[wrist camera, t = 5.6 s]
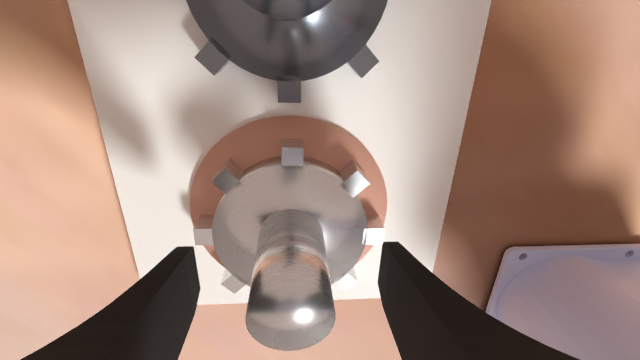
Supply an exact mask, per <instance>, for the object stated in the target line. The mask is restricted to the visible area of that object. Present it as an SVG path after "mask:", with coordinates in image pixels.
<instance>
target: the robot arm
mask: <svg viewBox="0 0 640 360" xmlns="http://www.w3.org/2000/svg"><path fill="white" fill-rule="evenodd" d="M521 254H522V255H521ZM377 283H378V287H379V292H380V297H381V301H382V305H383V308H384V311H385V314H386V317H387V320H388V323H389V325H390V328H391V331H392V334H393V336H394V339H395V342H396V344H397V347H398V350H399V353H400V355H401V358H402V360H640V244H603V245H563V246H523V247H510V248H508V249H507V250H506V251H505V253H504V256H503V259H502V262H501V265H500V268H499V271H498V274H497V277H496V280H495V283H494V286H493V290H492V293H491V296H490V299H489V302H488V305H487V308H486V311H485V312H484V311H483V310H481V309H479V308H478V307H477V306H475V305H474V304H472V303H471V302H469V301H468V300H466V299H465V298H463V297H462V296H461V295H459V294H458V293H457V292H455V291H454V290H453V289H451V288H450V287H449V286H448V285H446V284H445V283H444V282H443V281H441V280H440V279H439V278H438V277H437V276H435V275H434V274H433V273H432V272H431V271H430V270H428V269H427V268H426V267H425V266H424V265H423V264H422V263H421V262H420V261H419V260H417V259H416V258H415V257H414V256H413V255H412V254H411V253H410V252H409V251H408V250H407V249H406V248H405V247H404V246H403V245H401V244H400V243H399V242H398V241H397V242H383V244H382V252H381V259H380V267H379V275H378V282H377ZM200 289H201V288H200V282H199V276H198V270H197V264H196V258H195V252H194V246H181V247H176V248H175V249H173V250H172V251H171V252H170V253H169V254H168V255H167V256H166V257H165V258H163V259H162V260H161V261H160V262H159V263H158V264H157V265H156V266H155V267H154V268H152V269H151V270H150V271H149V272H148V273H147V274H146V275H144V276H143V277H142V278H141V279H140V280H139V281H138V282H136V283H135V284H134V285H133V286H132V287H130V288H129V289H128V290H127V291H125V292H124V293H123V294H122V295H120V296H119V297H118V298H117V299H115V300H114V301H113V302H112V303H110V304H109V305H108V306H106V307H105V308H103V309H102V310H101V311H99V312H98V313H96V314H95V315H94V316H92V317H91V318H89V319H88V320H86V321H85V322H83V323H82V324H80V325H79V326H77V327H76V328H74V329H72V330H71V331H69V332H67V333H66V334H64V335H62V336H61V337H59V338H58V339H56V340H54V341H53V342H51V343H49V344H48V345H46V346H44V347H43V348H41V349H39V350H37V351H35V352H33V353H32V354H30V355H28V356H26V357H24V358H23V359H21V360H178V357H179V355H180V352H181V349H182V347H183V344H184V341H185V339H186V336H187V333H188V331H189V328H190V325H191V323H192V320H193V317H194V314H195V310H196V306H197V302H198V298H199V293H200Z"/></svg>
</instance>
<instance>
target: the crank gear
mask: <svg viewBox="0 0 640 360" xmlns="http://www.w3.org/2000/svg"><path fill="white" fill-rule="evenodd" d="M387 1H388V0H186V2H187V4H188V6H189V9H190V11H191V13H192V15H193V17H194V19H195V20H196V22H197V24H198V26H199V27H200V29H201V30H202V32H203V33H204V34H205V36H206V37H207V39H208V40H209V41H208V42H207V43H206V44H205V45H204V47H203V48H202V49H201V50H200V51H199V52H198V54H197V55H196V56H195V57H194V58H195V59H196V60H198V61H199V62H200V63H201V64H202V65H203V66H204V67H205V68H206V69H207V70H208V71H209V72H210V73H211V74H213V75H214V76H215V75H216V74H218V73H219V72H221V70H222V69H223V68H224V67H225V66H226V65H227V64H228V63H229V61H231V62H233V63H234V64H236V65H237V66H239V67H240V68H242V69H244V70H246V71H248V72H250V73H252V74H255V75H257V76H260V77H263V78H267V79H271V80H276V81H277V88H278V103H301V81H305V80H310V79H315V78H318V77H321V76H324V75H326V74H328V73H330V72H332V71H334V70H336V69H338V68H340V67H341V66H343V65H344V64H346V63H347V64H348V65H349V66H350V68H351V69H352V70H353V71H354V72H355V73H356V74H357V75H358V76H359V77H360V78H363V77H364V76H365V75H366V74H367V73H368V72H369V71H370V70H371V69H372V68H373V67H374V66H375V65H376V64H377V63H378V62H379V60H378V59H377V58H376V56H375V55H374V54H373V53H372V52H371V50H370V49H369V48H368V47H367V45H366V43H367V42H368V40H369V39H370V37H371V36H372V35H373V33H374V31H375V30H376V28H377V26H378V24H379V22H380V20H381V18H382V15H383V13H384V10H385V8H386V5H387Z"/></svg>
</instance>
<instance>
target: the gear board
mask: <svg viewBox="0 0 640 360" xmlns="http://www.w3.org/2000/svg"><path fill="white" fill-rule="evenodd" d="M67 1H68V5H69V9H70V13H71V17H72V21H73V24H74V28H75V32H76V36H77V40H78V44H79V47H80V51H81V55H82V59H83V63H84V66H85V70H86V74H87V78H88V82H89V86H90V89H91V93H92V97H93V101H94V105H95V109H96V112H97V116H98V120H99V124H100V128H101V132H102V135H103V139H104V143H105V147H106V151H107V154H108V158H109V162H110V166H111V170H112V174H113V177H114V181H115V185H116V189H117V193H118V197H119V200H120V204H121V208H122V212H123V216H124V220H125V223H126V227H127V231H128V235H129V239H130V242H131V246H132V250H133V254H134V258H135V262H136V265H137V269H138V273H139V277H140V279H141V278H142V277H143V276H144V275H146V274H147V273H148V272H149V271H150V270H151V269H152V268H154V267H155V266H156V265H157V264H158V263H159V262H160V261H161V260H162V259H163V258H165V257H166V256H167V255H168V254H169V253H170V252H171V251H172V250H173V249H175V248H176V247H181V246H194V252H195V258H196V264H197V270H198V276H199V282H200V288H201V289H200V293H199V298H198V302H197V305H204V304H231V303H248V299H249V293H250V286H248V285H245V286H244V287H242V288H241V289H240V290H239V291H238V292H236V293H235V294H234V293H233V292H231V291H230V290H228V289H227V288H225V287H224V286H222V285H221V281H222V278H223V274H224V270H225V267H224V265H223V264H222V262H221V261H220V259H219V257H218V255H217V253H216V251H215V248H214V245H195V240H194V232H193V228H194V226H195V224H196V222H197V220H198V218H199V215H215V212H216V209H217V207H218V204H219V202H220V200H221V197H222V195H223V192H222V191H221V190H220V189H219V188H217V187H216V186H215V185H214V184H212V183H211V180H212V178H213V176H214V174H215V172H216V170H218V169H219V168H220V167H221V166H222V165H223V164H224V163H225V162H226V161H227V160H228V159H229V158H231V159H232V160H233V161H234V162H235V163H236V164H237V165H239V166H240V167H241V168H242V169H243V170H244V169H246V168H248V167H249V166H251V165H253V164H255V163H257V162H260V161H262V160H265V159H269V158H272V157H278V156H282V138H291V139H303V146H304V154H303V156H304V157H309V158H313V159H316V160H319V161H322V162H324V163H326V164H328V165H330V166H332V167H333V168H335V169H336V170H338V171H341V170H342V169H343V168H344V167H345V166H346V165H348V164H349V163H350V162H351V161H352V160H353V161H354V162H355V163H356V164H357V165H358V166H359V167H360V168H361V169H362V170H363V171H364V172H365V174H366V176H367V178H368V180H369V182H370V185H368V186H367V187H366V188H365V189H363V190H362V191H361V192H360V193H358V196H359V199H360V201H361V204H362V206H363V209H364V211H365V215H372V216H379V217H380V219H381V221H382V224H383V226H384V228H385V231H384V237H383V242H397V241H398V242H399V243H400V244H401V245H403V246H404V247H405V248H406V249H407V250H408V251H409V252H410V253H411V254H412V255H413V256H414V257H415V258H416V259H417V260H419V261H420V262H421V263H422V264H423V265H424V266H425V267H426V268H427V269H428V270H430V271H431V272H433V268H434V263H435V259H436V254H437V249H438V245H439V240H440V236H441V231H442V226H443V222H444V217H445V213H446V208H447V203H448V199H449V194H450V190H451V185H452V180H453V176H454V171H455V167H456V162H457V157H458V153H459V148H460V144H461V139H462V135H463V130H464V125H465V121H466V116H467V112H468V107H469V102H470V98H471V93H472V89H473V84H474V79H475V75H476V70H477V66H478V61H479V56H480V52H481V47H482V43H483V38H484V34H485V29H486V24H487V20H488V15H489V11H490V6H491V1H492V0H388V1H387V5H386V8H385V10H384V13H383V15H382V18H381V20H380V22H379V24H378V26H377V28H376V30H375V31H374V33H373V35H372V36H371V37H370V39H369V40H368V42H367V43H366V45H367V47H368V48H369V49H370V50H371V52H372V53H373V54H374V55H375V56H376V58H377V59H378V60H379V62H378V63H377V64H376V65H375V66H374V67H373V68H372V69H371V70H370V71H369V72H368V73H367V74H366V75H365V76H364V77H363V78H360V77H359V76H358V75H357V74H356V73H355V72H354V71H353V70H352V69H351V68H350V66H349V65H348V64H347V63H346V64H344V65H343V66H341V67H340V68H338V69H336V70H334V71H332V72H330V73H328V74H326V75H324V76H321V77H318V78H315V79H310V80H305V81H301V103H278V88H277V81H276V80H271V79H267V78H263V77H260V76H257V75H255V74H252V73H250V72H248V71H246V70H244V69H242V68H240V67H239V66H237V65H236V64H234V63H233V62H231V61H229V63H228V64H227V65H226V66H225V67H224V68H223V69H222V70H221V72H219V73H218V74H216V75H215V76H214V75H213V74H211V73H210V72H209V71H208V70H207V69H206V68H205V67H204V66H203V65H202V64H201V63H200V62H199V61H198V60H196V59H195V58H194V57H195V56H196V55H197V54H198V52H199V51H200V50H201V49H202V48H203V47H204V45H205V44H206V43H207V42H208V41H209V40H208V39H207V37H206V36H205V34H204V33H203V32H202V30H201V29H200V27H199V26H198V24H197V22H196V20H195V19H194V17H193V15H192V13H191V11H190V9H189V6H188V4H187V2H186V0H67ZM381 252H382V244H367V245H365V247H364V250H363V253H362V255H361V256H360V258H359V260H358V262H357V263H356V264H355V266H354V269H355V273H356V277H357V281H358V282H357V283H356V284H355V285H353V286H352V287H351V288H349V289H348V290H346V291H345V292H344V291H343V290H342V289H340V288H339V287H338V286H337V285H335V284H332V285H331V289H332V296H333V300H339V299H366V298H381V297H380V292H379V287H378V283H377V282H378V275H379V267H380V259H381Z"/></svg>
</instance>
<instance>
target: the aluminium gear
mask: <svg viewBox="0 0 640 360" xmlns="http://www.w3.org/2000/svg"><path fill="white" fill-rule="evenodd" d="M303 154H304V146H303V139H291V138H282V156H278V157H272V158H269V159H265V160H262V161H260V162H257V163H255V164H253V165H251V166H249V167H248V168H246V169H244V170H243V169H242V168H241V167H240V166H239V165H237V164H236V163H235V162H234V161H233V160H232V159H231V158H229V159H228V160H227V161H226V162H225V163H224V164H223V165H222V166H221V167H220V168H219V169H218V170H216V172H215V174H214V176H213V178H212V180H211V183H212V184H214V185H215V186H216V187H217V188H219V189H220V190H221V191H222V192H223V195H222V197H221V200H220V202H219V204H218V207H217V209H216V212H215V215H199V218H198V220H197V222H196V224H195V226H194V228H193V232H194V240H195V245H214V248H215V251H216V253H217V255H218V257H219V259H220V261H221V262H222V264H223V265H224V267H225V270H224V274H223V278H222V281H221V285H222V286H224V287H225V288H227V289H228V290H230V291H231V292H233V293H234V294H235V293H236V292H238V291H239V290H240V289H241V288H242V287H244V286H245V285H248V286H250V293H249V299H248V305H247V311H246V326H247V329H248V331H249V333H250V334H251V335H252V337H253V338H254V339H255V340H257V341H258V342H259V343H261V344H263V345H265V346H267V347H269V348H273V349H277V350H284V351H292V350H300V349H304V348H308V347H310V346H313V345H315V344H317V343H318V342H320V341H321V340H323V339H324V338H325V337H326V336H327V335H328V334H329V333H330V331H331V330H332V328H333V326H334V323H335V309H334V302H333V296H332V289H331V285H332V284H335V285H337V286H338V287H339V288H340V289H342V290H343V291H344V292H345V291H346V290H348V289H349V288H351V287H352V286H353V285H355V284H356V283H357V282H358V281H357V277H356V273H355V269H354V266H355V264H356V263H357V262H358V260H359V258H360V256H361V255H362V253H363V250H364V247H365V245H367V244H383V237H384V231H385V228H384V226H383V224H382V221H381V219H380V217H379V216H372V215H365V211H364V209H363V206H362V204H361V201H360V199H359V196H358V193H360V192H361V191H362V190H363V189H365V188H366V187H367V186H368V185H370V182H369V180H368V178H367V176H366V174H365V172H364V171H363V170H362V169H361V168H360V167H359V166H358V165H357V164H356V163H355V162H354V161H353V160H352V161H351V162H350V163H349V164H348V165H346V166H345V167H344V168H343V169H342V170H341V171H338V170H336V169H335V168H333V167H332V166H330V165H328V164H326V163H324V162H322V161H319V160H316V159H313V158H309V157H304V156H303Z"/></svg>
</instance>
